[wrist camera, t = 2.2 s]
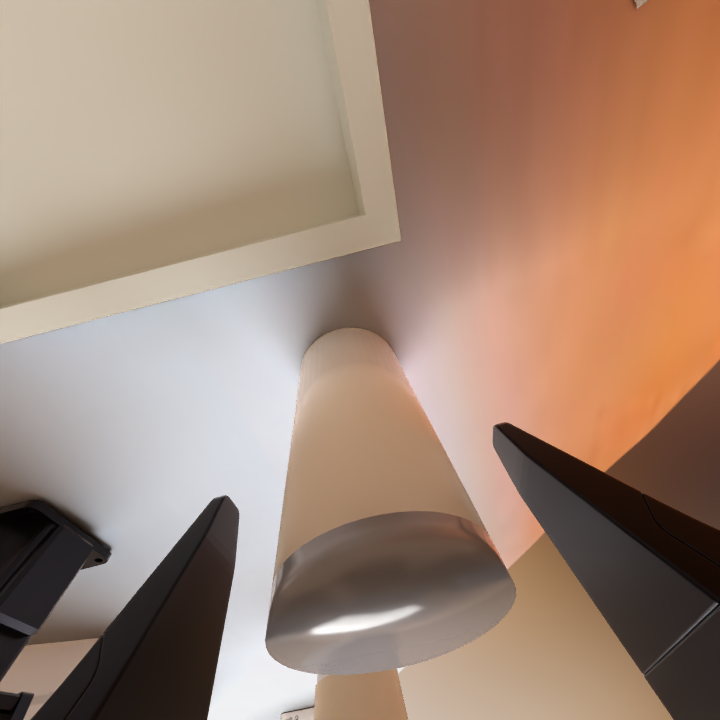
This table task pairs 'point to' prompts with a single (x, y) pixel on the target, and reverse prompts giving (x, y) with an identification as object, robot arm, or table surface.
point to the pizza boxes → (44, 669)
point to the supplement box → (299, 715)
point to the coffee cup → (359, 697)
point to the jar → (374, 525)
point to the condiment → (640, 2)
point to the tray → (181, 150)
